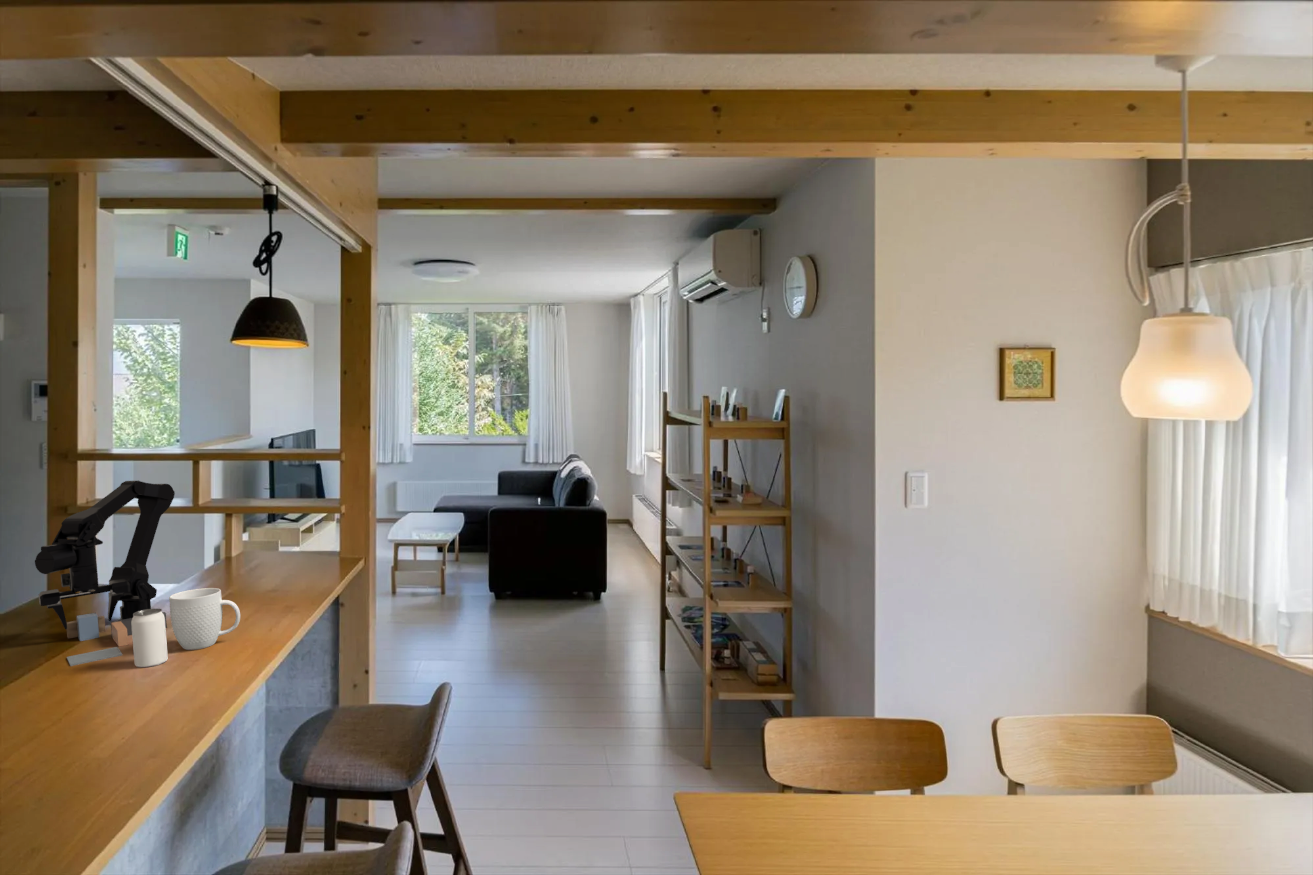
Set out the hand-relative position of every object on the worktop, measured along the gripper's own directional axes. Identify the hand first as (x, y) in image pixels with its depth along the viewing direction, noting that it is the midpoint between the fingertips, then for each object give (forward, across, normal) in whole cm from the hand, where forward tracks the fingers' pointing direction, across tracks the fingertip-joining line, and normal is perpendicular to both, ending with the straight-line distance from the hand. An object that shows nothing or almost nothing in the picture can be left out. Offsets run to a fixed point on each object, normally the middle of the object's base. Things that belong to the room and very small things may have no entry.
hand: (88, 624), depth 204 cm
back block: (+4, 0, -4) cm, 6 cm away
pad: (+4, +1, +21) cm, 21 cm away
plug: (+4, 0, 0) cm, 4 cm away
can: (+4, -8, +37) cm, 38 cm away
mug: (+4, -20, +31) cm, 37 cm away
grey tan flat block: (+3, -10, +10) cm, 15 cm away
